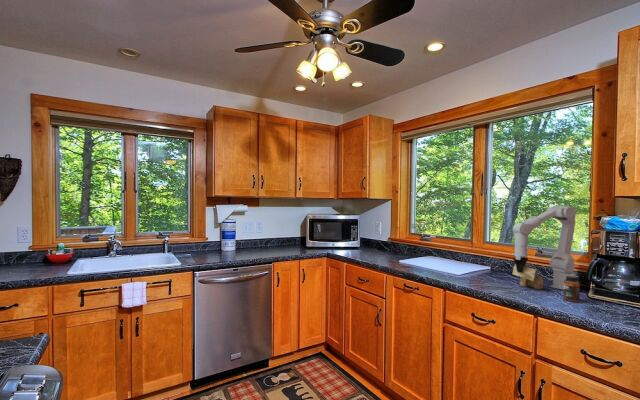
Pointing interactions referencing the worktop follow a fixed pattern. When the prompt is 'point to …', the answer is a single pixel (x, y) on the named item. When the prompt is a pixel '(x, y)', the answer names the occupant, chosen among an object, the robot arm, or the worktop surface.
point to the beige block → (526, 273)
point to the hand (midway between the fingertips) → (520, 271)
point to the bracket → (532, 282)
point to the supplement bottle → (571, 289)
